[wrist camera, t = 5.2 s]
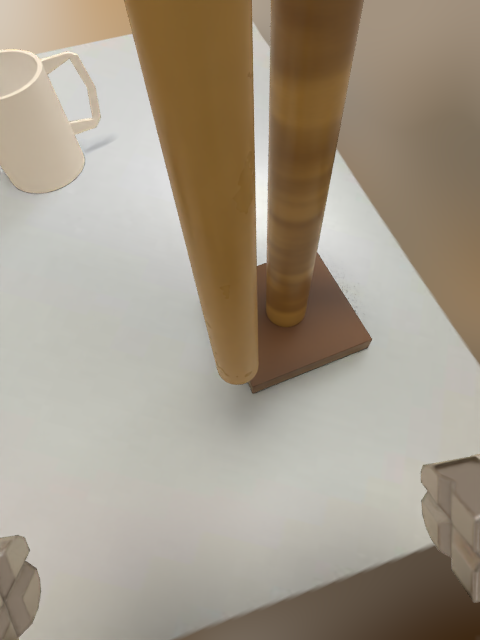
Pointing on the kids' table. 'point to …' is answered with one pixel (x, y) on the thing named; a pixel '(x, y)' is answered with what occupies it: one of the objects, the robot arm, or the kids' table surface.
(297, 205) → the paper towel holder
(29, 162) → the cup
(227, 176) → the bent wooden pipe
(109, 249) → the kids' table surface
